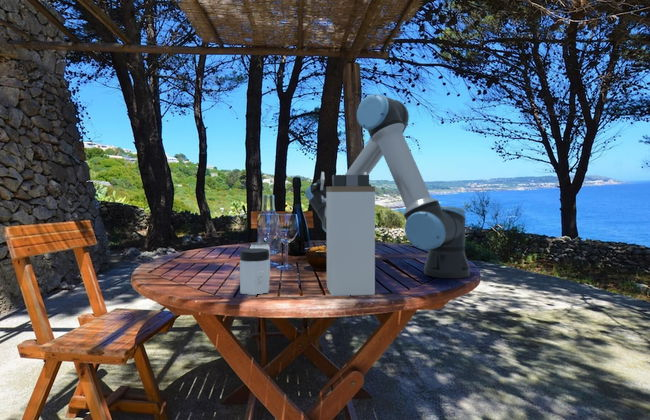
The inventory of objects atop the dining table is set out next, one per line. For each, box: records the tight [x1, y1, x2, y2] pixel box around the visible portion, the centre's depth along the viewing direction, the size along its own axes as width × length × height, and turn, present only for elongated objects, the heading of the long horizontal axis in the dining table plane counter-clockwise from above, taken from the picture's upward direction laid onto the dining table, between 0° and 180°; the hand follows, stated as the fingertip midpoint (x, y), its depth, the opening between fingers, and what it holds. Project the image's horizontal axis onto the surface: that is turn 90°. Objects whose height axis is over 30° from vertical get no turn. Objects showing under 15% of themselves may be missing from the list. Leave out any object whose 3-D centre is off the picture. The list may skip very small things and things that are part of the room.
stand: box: [325, 185, 376, 297], centre depth 124 cm, size 12×12×30 cm
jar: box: [239, 248, 270, 296], centre depth 123 cm, size 9×8×12 cm
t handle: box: [331, 174, 370, 186], centre depth 129 cm, size 20×10×3 cm, turn 7°
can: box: [249, 241, 271, 280], centre depth 139 cm, size 6×6×12 cm
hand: (344, 175), depth 132 cm, fingers open, 12 cm apart
